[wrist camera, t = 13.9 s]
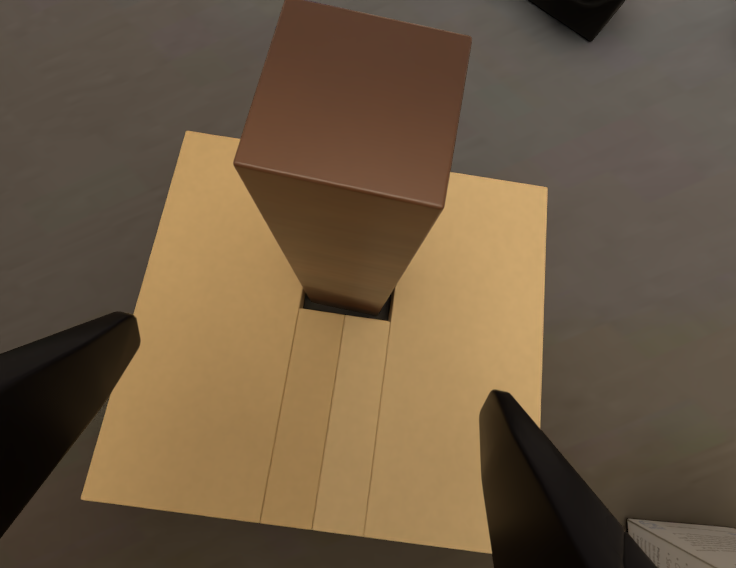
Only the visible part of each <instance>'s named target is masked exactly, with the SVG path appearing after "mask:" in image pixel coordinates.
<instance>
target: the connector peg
mask: <svg viewBox="0 0 736 568" xmlns="http://www.w3.org/2000/svg"><path fill="white" fill-rule="evenodd" d="M471 44H472V37H470V36H468V35H463V34H459V33H454V32H449V31H445V30H440V29H436V28H431V27H427V26H422V25H417V24H413V23H408V22H404V21H399V20H394V19H390V18H385V17H381V16H376V15H372V14H367V13H362V12H358V11H353V10H349V9H344V8H339V7H335V6H330V5H326V4H321V3H316V2H312V1H307V0H285V1H284V4H283V7H282V10H281V13H280V17H279V20H278V23H277V26H276V29H275V32H274V35H273V38H272V42H271V45H270V48H269V51H268V54H267V57H266V60H265V64H264V67H263V70H262V73H261V76H260V79H259V82H258V86H257V89H256V92H255V95H254V98H253V101H252V104H251V107H250V111H249V114H248V117H247V120H246V123H245V126H244V129H243V133H242V136H241V139H240V142H239V145H238V148H237V151H236V155H235V158H234V161H233V166H234V167H235V169H236V171H237V173H238V174H239V176H240V178H241V180H242V181H243V183H244V185H245V187H246V188H247V190H248V192H249V194H250V195H251V197H252V199H253V201H254V202H255V204H256V206H257V208H258V209H259V211H260V213H261V215H262V217H263V218H264V220H265V222H266V224H267V225H268V227H269V229H270V231H271V232H272V234H273V236H274V238H275V239H276V241H277V243H278V245H279V246H280V248H281V250H282V252H283V253H284V255H285V257H286V259H287V260H288V262H289V264H290V266H291V268H292V269H293V271H294V273H295V275H296V276H297V278H298V280H299V282H300V283H301V285H302V287H303V289H304V290H305V292H306V294H307V296H308V297H309V299H310V301H311V302H313V303H318V304H322V305H327V306H332V307H337V308H342V309H346V310H351V311H356V312H361V313H366V314H370V315H375V316H377V315H378V314H379V312H380V311H381V309H382V307H383V306H384V304H385V302H386V301H387V299H388V298H389V296H390V294H391V293H392V291H393V290H394V288H395V286H396V285H397V283H398V282H399V280H400V278H401V277H402V275H403V273H404V272H405V270H406V269H407V267H408V265H409V264H410V262H411V261H412V259H413V257H414V256H415V254H416V253H417V251H418V249H419V248H420V246H421V244H422V243H423V241H424V240H425V238H426V236H427V235H428V233H429V232H430V230H431V228H432V227H433V225H434V224H435V222H436V220H437V219H438V217H439V215H440V214H441V212H442V211H443V209H444V207H445V201H446V195H447V189H448V183H449V177H450V171H451V165H452V159H453V153H454V147H455V141H456V135H457V129H458V123H459V117H460V111H461V105H462V99H463V93H464V86H465V80H466V74H467V68H468V62H469V56H470V50H471Z"/></svg>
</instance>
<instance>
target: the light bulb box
mask: <svg viewBox="0 0 736 568" xmlns="http://www.w3.org/2000/svg"><path fill="white" fill-rule="evenodd" d="M627 523H628V533H629V535H630V536H631V537H632V538H633V539H634V541H635V542H636V543H637V544H638V545H639V546H640V548H641V549H642V550H643V551H644V552H645V554H646V555H647V556H648V557H649V558H650V559H651V560H652V562H653V563H654V564H655V565H656V566H657V567H658V568H736V529H735V528H728V527H718V526H707V525H696V524H683V523H672V522H661V521H649V520H638V519H627Z"/></svg>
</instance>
